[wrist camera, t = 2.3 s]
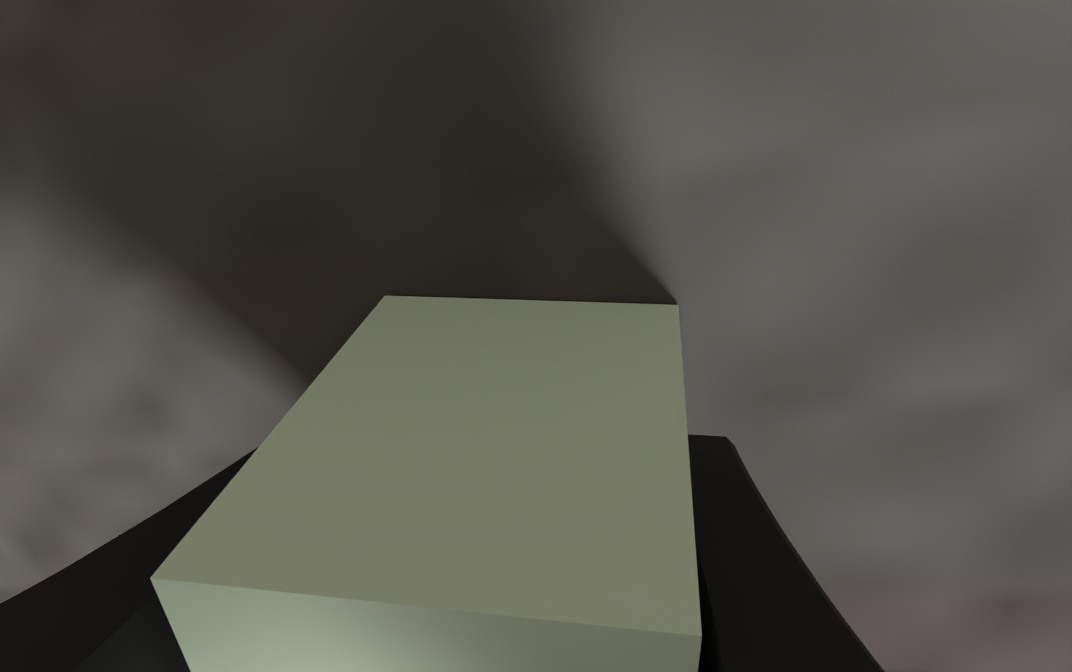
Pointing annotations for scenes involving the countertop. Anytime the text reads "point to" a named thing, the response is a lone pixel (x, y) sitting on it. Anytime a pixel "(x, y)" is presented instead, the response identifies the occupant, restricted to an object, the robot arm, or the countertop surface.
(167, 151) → the countertop surface
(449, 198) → the countertop surface
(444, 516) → the green block
